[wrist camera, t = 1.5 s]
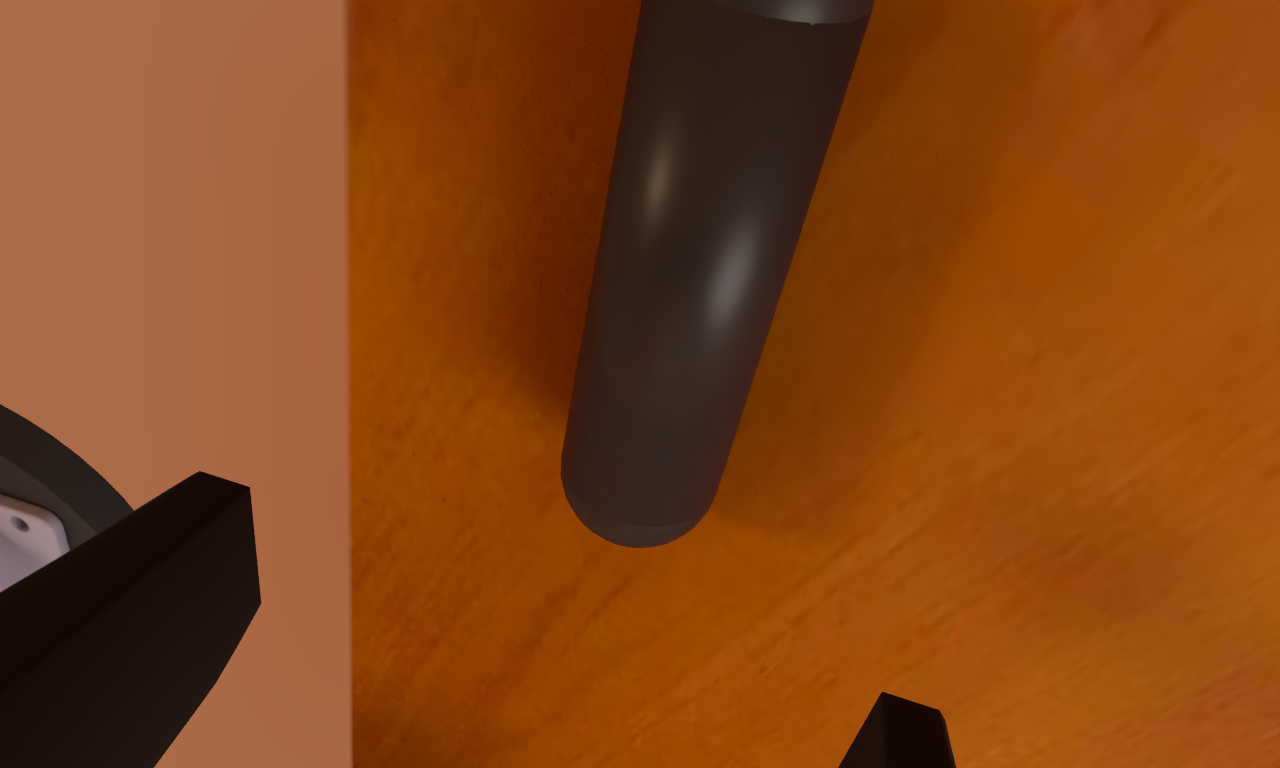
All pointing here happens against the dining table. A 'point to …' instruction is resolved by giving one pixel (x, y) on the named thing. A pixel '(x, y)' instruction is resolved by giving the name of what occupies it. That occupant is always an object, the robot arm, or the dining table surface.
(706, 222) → the spatula
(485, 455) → the dining table surface
